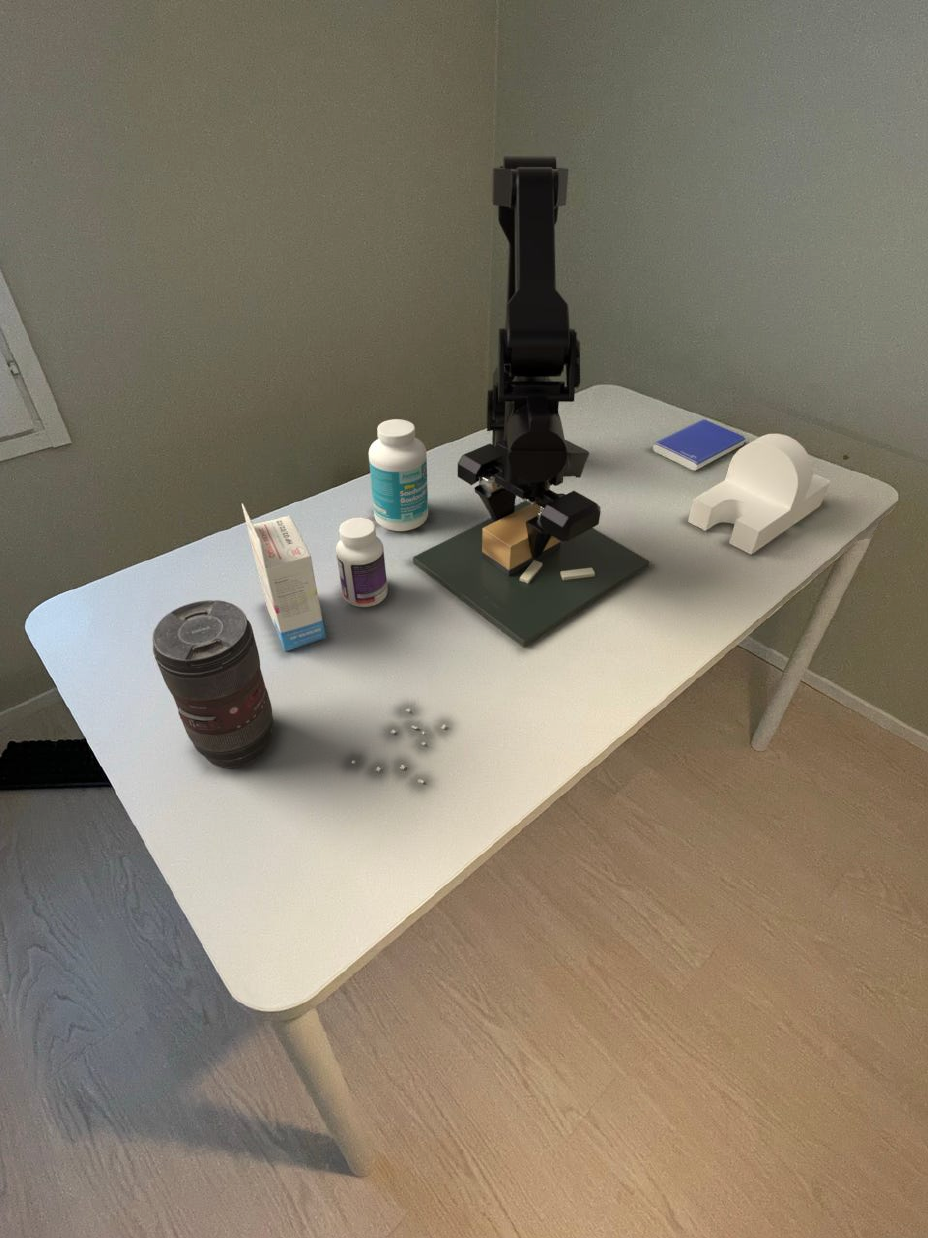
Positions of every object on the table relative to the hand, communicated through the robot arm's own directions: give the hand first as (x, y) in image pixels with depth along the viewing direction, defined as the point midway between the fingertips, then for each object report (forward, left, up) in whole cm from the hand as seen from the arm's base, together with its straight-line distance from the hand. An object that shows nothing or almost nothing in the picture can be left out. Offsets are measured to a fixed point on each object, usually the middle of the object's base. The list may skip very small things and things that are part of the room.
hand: (521, 547), depth 89 cm
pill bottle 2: (-17, -6, -2) cm, 18 cm away
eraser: (0, 0, -1) cm, 1 cm away
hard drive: (-2, +41, -2) cm, 41 cm away
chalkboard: (+2, 0, -2) cm, 3 cm away
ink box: (-8, -28, -2) cm, 29 cm away
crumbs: (+14, -29, -2) cm, 32 cm away
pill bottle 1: (-7, -19, -2) cm, 20 cm away
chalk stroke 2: (+8, +2, -1) cm, 8 cm away
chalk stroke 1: (+4, -2, -1) cm, 4 cm away
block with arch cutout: (+14, +32, -2) cm, 35 cm away
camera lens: (+3, -41, -2) cm, 41 cm away
